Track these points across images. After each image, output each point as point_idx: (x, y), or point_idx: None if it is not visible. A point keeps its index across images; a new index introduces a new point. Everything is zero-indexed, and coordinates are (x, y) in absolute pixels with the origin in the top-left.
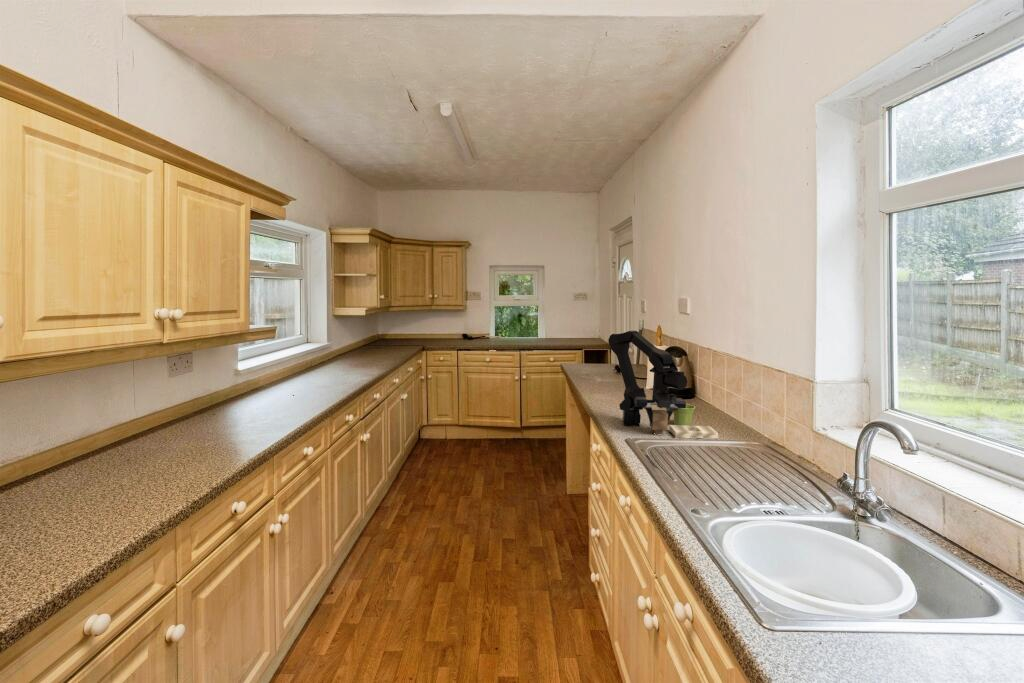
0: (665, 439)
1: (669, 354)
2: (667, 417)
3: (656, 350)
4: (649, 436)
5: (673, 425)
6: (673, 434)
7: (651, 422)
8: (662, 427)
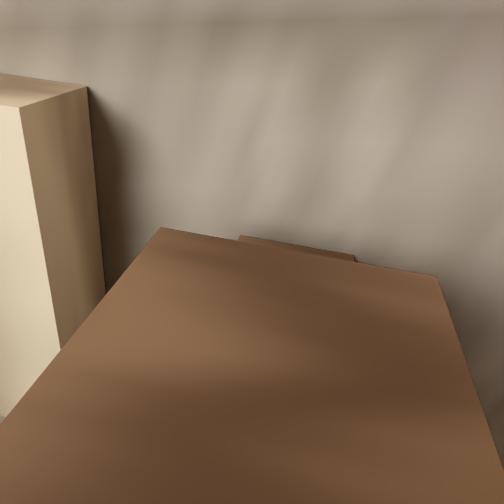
0: (271, 12)
1: None
2: (4, 442)
3: None
4: (488, 191)
5: None
6: (85, 203)
7: None
8: (239, 267)
